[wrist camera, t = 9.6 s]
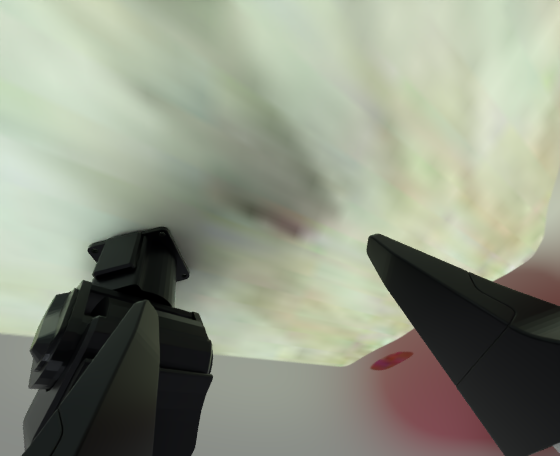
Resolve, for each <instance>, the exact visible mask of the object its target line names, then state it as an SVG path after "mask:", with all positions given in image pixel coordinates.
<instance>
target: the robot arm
mask: <svg viewBox="0 0 560 456" xmlns="http://www.w3.org/2000/svg"><path fill="white" fill-rule="evenodd" d="M160 232H164V233H165V234H161V233H160ZM94 249H97V250H94ZM88 253H89V254H90V255H91V256H92V258H93V259H94V260H95V261H96V263H97V264H96V267H95V269H94V271H93V274H92V276H93V277H94V279H93V281H92V282H88V281H85V280H83V281H82V282H81V283H80V285H79V286H78V287H77V289H76V288H74V290H73V291H72V292H71V291H70V292H69V293H64V294H59V295H56V296H55V298H54V299H53V300H52V302H51V304H50V306H49V308H48V309H47V311H46V313H45V315H44V317H43V319H42V321H41V323H40V325H39V327H38V329H37V332H36V335H35V337H34V340H33V343H32V346H31V349H30V353H31V355H32V357H33V363H32V368H31V375H30V380H29V388H30V389H39V390H38V392H37V394H36V396H35V398H34V400H33V402H32V404H31V406H30V408H29V410H28V411H27V413H26V416H25V418H24V421H23V432H24V445H25V446H24V447H25V452H24V453H23V454H22V456H191V455H192V453H193V451H194V448H195V445H196V438H197V432H198V426H199V420H200V414H201V410H202V406H203V403H204V399H205V396H206V393H207V391H208V389H209V386H210V384H211V382H212V379H213V376H212V374H210V372H211V368H212V360H213V351H212V343H211V340H209V339H208V336H207V334H206V331H205V327H204V326H203V323H202V321H201V318H200V315H199V313H196V312H188V311H184V310H181V309H177V308H174V302H175V287H176V282H177V281H181V280H185V279H187V278H189V270H188V268H187V266H186V264H185V262H184V260H183V258H182V256H181V254H180V252H179V250H178V248H177V246H176V244H175V242H174V240H173V238H172V236H171V234H170V232H169V230H168V229H167V228H165V227H159V228H155V229H151V230H147V231H143V232H135V233H130V234H126V235H122V236H118V237H114V238H110V239H108V240H106V241H102V242H98V243H94V244H91V245H90V246H89V248H88ZM367 255H368V257H369V258H370V260H371V262H372V264H373V266H374V267H375V269H376V271H377V273H378V275H379V276H380V278H381V280H382V282H383V283H384V285H385V287H386V288H387V289H388V291H389V292H390V294H391V295H392V297H393V298H394V299H395V301H396V302H397V304H398V305H399V306H400V308H401V309H402V311H403V312H404V314H405V315H406V316H407V318H408V319H409V321H410V322H411V323H412V325H413V326H414V328H415V329H416V331H417V332H418V333H419V335H420V336H421V338H422V339H423V340H424V342H425V343H426V345H427V346H428V348H429V349H430V350H431V352H432V353H433V355H434V356H435V357H436V359H437V360H438V362H439V363H440V365H441V366H442V367H443V369H444V370H445V371H446V373H447V374H448V375H449V377H450V379H451V380H452V381H453V383H454V384H455V385H456V387H457V389H458V390H459V392H460V393H461V394H462V396H463V397H464V399H465V400H466V402H467V403H468V404H469V406H470V407H471V409H472V410H473V411H474V413H475V414H476V416H477V417H478V419H479V420H480V421H481V423H482V424H483V426H484V427H485V428H486V430H487V431H488V433H489V434H490V435H491V437H492V438H493V440H494V441H495V443H496V444H497V445H498V447H499V448H500V450H501V451H502V452H503V454H504V455H505V456H529V455H531V454H534V453H536V452H538V451H541V450H544V449H546V448H548V447H551V446H553V447H554V448H555V449H556V450H557V451H558V452H559V453H560V306H557V305H555V304H552V303H549V302H546V301H543V300H540V299H538V298H535V297H532V296H530V295H527V294H524V293H521V292H518V291H516V290H512V289H510V288H508V287H505V286H502V285H500V284H497V283H494V282H492V281H490V280H487V279H485V278H482V277H480V276H477V275H475V274H473V273H470V272H467V271H466V270H463V269H461V268H459V267H456V266H454V265H452V264H449V263H447V262H444V261H442V260H440V259H437V258H435V257H433V256H430V255H428V254H426V253H423V252H421V251H419V250H416V249H414V248H412V247H409V246H407V245H405V244H402V243H400V242H398V241H395V240H393V239H391V238H388V237H386V236H384V235H381V234H374V235H371V236H369V238H368V243H367ZM183 274H186V275H183Z"/></svg>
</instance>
